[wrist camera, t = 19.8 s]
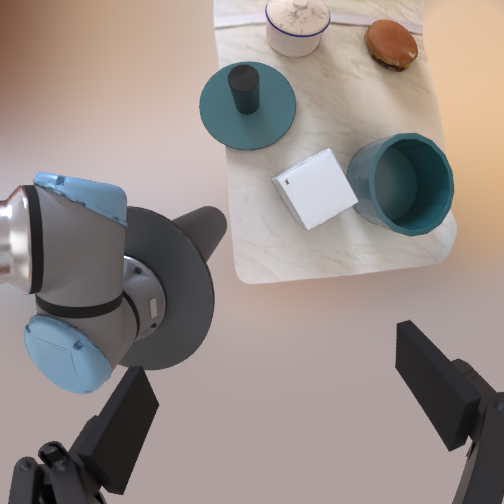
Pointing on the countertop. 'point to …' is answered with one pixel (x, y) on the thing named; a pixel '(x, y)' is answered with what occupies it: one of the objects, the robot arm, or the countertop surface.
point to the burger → (391, 44)
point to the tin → (402, 183)
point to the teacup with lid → (296, 25)
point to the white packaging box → (315, 189)
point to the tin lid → (247, 105)
